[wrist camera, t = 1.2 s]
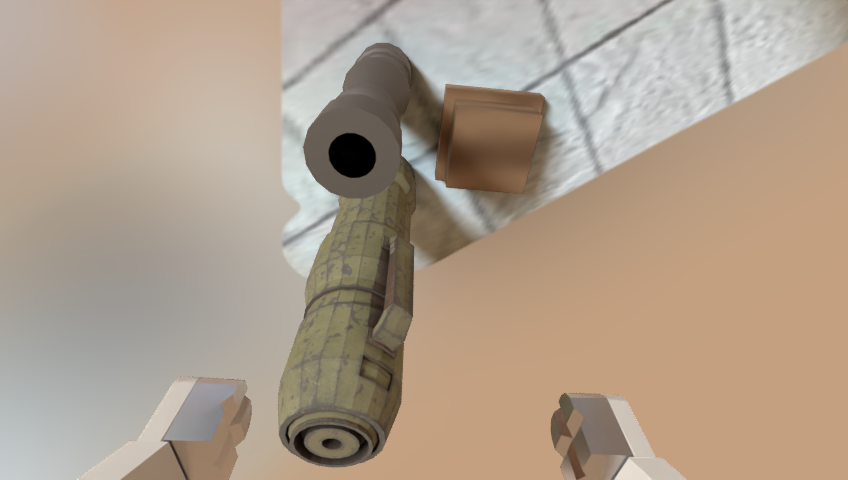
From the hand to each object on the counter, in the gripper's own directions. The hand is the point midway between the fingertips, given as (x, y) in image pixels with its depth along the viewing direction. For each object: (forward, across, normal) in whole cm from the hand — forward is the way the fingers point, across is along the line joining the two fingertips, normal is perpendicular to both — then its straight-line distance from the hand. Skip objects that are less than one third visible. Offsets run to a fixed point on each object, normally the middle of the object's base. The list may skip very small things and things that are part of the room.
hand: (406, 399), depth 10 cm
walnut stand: (+41, -9, +5) cm, 42 cm away
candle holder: (+41, +4, -1) cm, 41 cm away
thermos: (+41, +3, +12) cm, 43 cm away
